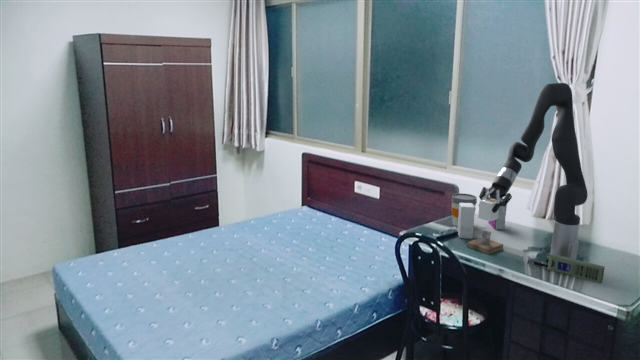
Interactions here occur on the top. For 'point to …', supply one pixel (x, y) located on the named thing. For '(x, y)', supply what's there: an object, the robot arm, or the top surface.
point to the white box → (487, 210)
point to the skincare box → (466, 220)
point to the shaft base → (484, 247)
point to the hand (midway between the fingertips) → (486, 209)
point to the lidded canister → (460, 199)
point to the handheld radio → (574, 268)
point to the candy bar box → (499, 218)
